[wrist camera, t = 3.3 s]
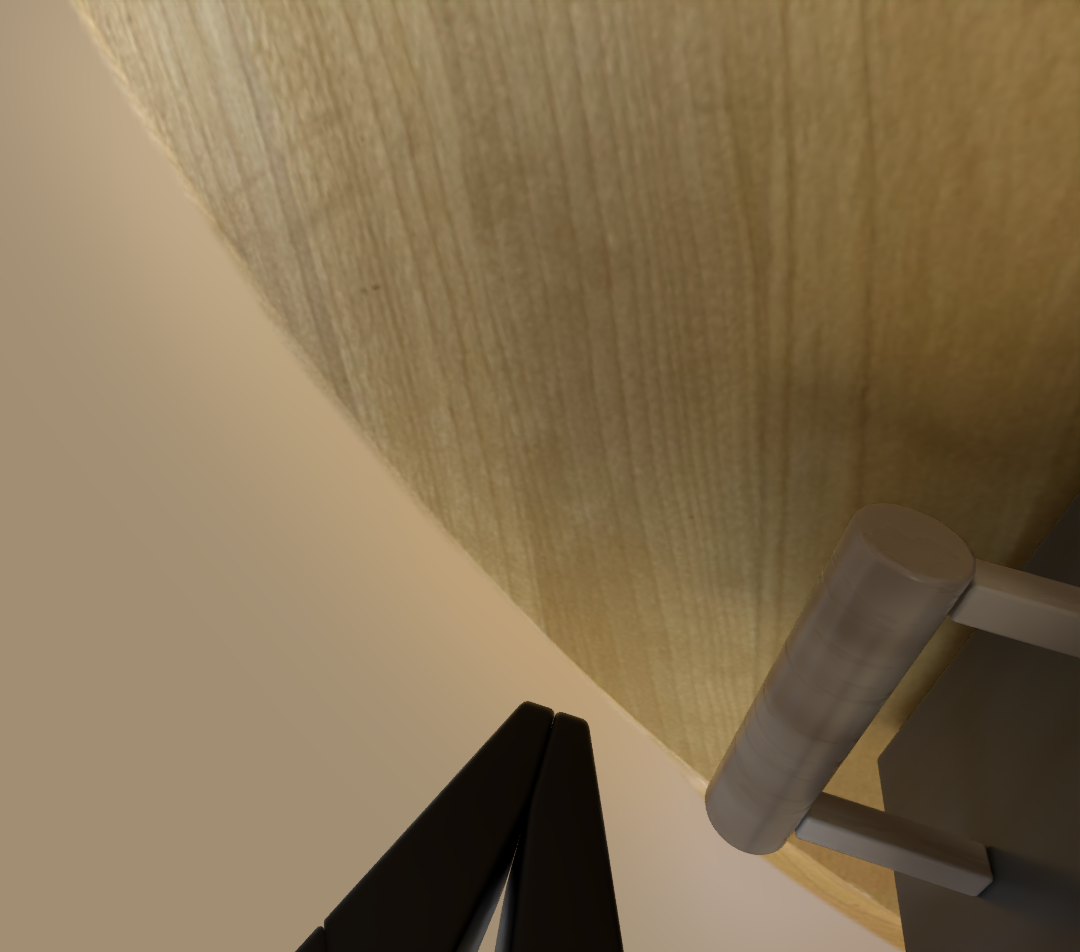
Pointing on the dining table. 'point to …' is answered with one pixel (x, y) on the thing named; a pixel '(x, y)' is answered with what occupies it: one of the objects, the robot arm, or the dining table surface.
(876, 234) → the dining table surface
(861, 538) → the drawer
